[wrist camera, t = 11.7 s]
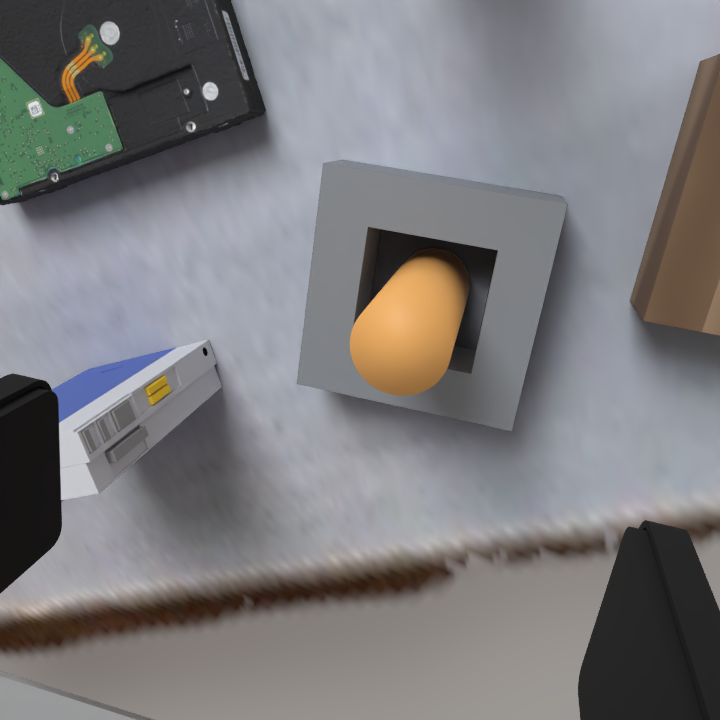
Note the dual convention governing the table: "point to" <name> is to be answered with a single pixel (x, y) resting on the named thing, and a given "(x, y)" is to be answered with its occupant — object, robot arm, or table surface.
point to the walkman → (127, 412)
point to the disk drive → (113, 85)
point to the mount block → (688, 221)
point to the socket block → (443, 222)
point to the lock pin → (412, 324)
